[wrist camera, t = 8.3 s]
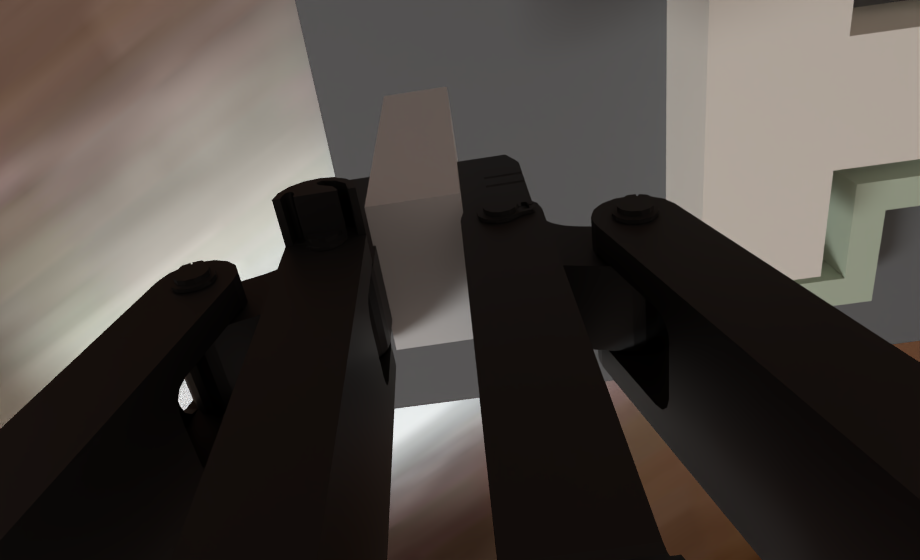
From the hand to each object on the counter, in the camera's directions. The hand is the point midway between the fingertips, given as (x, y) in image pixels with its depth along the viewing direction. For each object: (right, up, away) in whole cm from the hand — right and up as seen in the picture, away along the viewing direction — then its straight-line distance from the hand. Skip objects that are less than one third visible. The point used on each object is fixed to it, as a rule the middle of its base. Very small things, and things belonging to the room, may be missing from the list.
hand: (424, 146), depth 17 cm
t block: (+12, +3, +4) cm, 13 cm away
